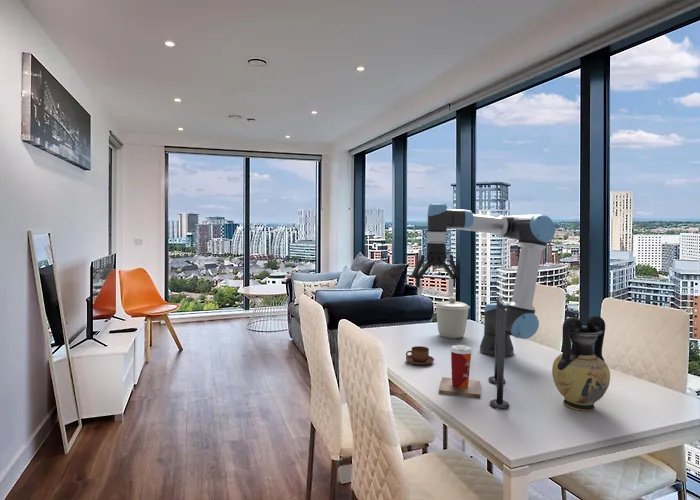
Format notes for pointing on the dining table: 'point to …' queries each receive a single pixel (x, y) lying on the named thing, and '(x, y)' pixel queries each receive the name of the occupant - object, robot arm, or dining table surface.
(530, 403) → the dining table surface
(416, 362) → the cup and saucer
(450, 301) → the canister
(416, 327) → the dining table surface
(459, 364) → the paper cup
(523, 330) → the robot arm
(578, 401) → the amphora
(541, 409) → the dining table surface
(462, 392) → the walnut board
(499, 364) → the frame
